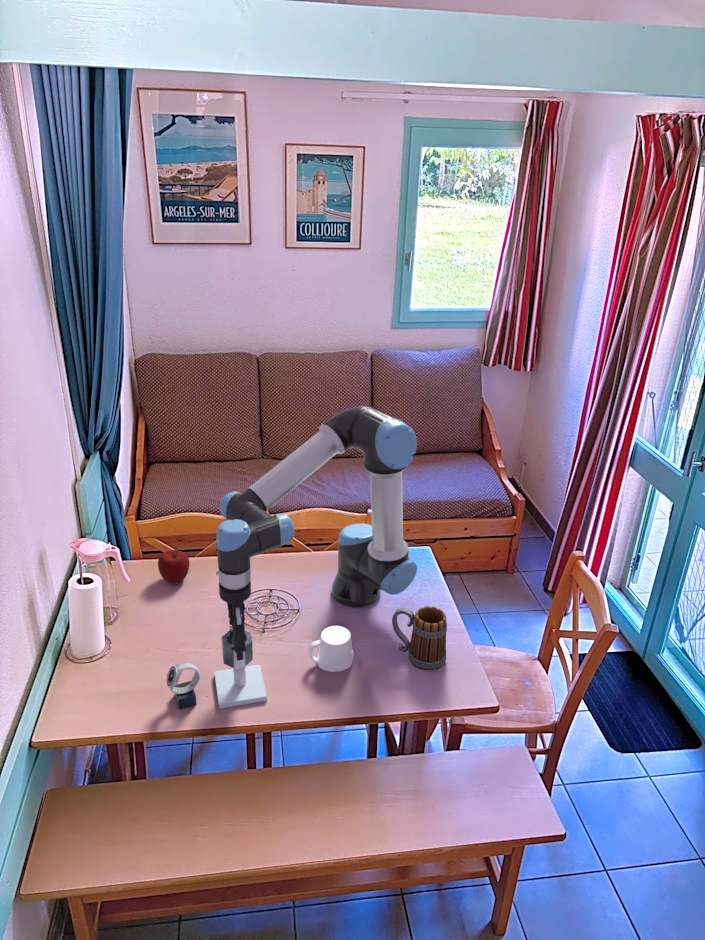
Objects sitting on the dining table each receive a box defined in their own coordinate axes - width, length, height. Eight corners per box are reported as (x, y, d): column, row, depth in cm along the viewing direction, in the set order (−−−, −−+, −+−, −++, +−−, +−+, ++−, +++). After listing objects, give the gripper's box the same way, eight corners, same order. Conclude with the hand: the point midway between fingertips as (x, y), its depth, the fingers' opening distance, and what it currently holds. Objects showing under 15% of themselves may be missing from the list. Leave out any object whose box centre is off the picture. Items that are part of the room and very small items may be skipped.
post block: (260, 668, 194) (259, 643, 191) (267, 700, 184) (266, 674, 180) (214, 675, 192) (212, 650, 188) (219, 708, 181) (217, 682, 177)
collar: (249, 646, 187) (249, 627, 184) (253, 665, 181) (253, 646, 178) (221, 650, 185) (220, 631, 183) (224, 669, 179) (223, 650, 176)
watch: (167, 696, 184) (163, 663, 179) (198, 688, 187) (195, 655, 182) (171, 711, 180) (167, 677, 175) (203, 703, 183) (200, 669, 178)
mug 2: (449, 651, 203) (454, 608, 196) (441, 676, 194) (445, 631, 187) (396, 638, 207) (399, 595, 201) (385, 661, 198) (388, 617, 192)
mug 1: (349, 623, 198) (356, 642, 191) (348, 650, 202) (355, 669, 195) (306, 629, 195) (312, 648, 188) (306, 656, 200) (311, 676, 193)
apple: (187, 589, 225) (184, 562, 220) (156, 588, 225) (153, 561, 220) (193, 572, 233) (191, 545, 229) (163, 571, 233) (161, 544, 229)
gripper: (214, 560, 181) (218, 633, 191) (223, 608, 163) (227, 686, 173) (245, 556, 182) (247, 629, 193) (256, 604, 165) (258, 682, 175)
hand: (237, 656), depth 183 cm, fingers closed on collar, 7 cm apart
